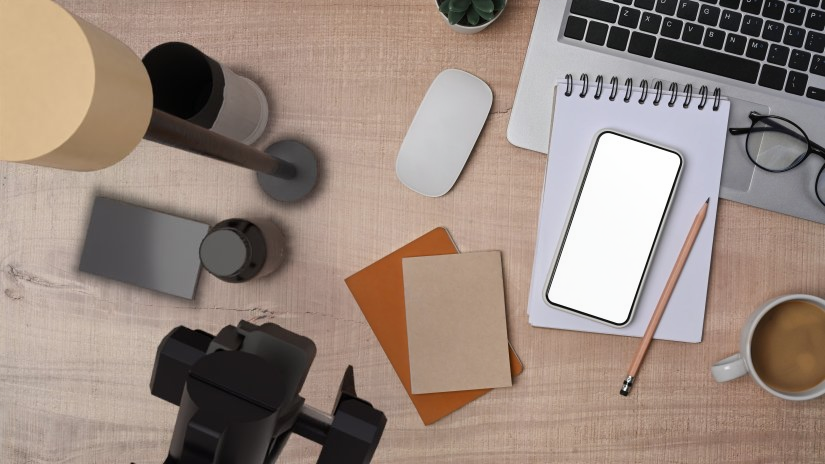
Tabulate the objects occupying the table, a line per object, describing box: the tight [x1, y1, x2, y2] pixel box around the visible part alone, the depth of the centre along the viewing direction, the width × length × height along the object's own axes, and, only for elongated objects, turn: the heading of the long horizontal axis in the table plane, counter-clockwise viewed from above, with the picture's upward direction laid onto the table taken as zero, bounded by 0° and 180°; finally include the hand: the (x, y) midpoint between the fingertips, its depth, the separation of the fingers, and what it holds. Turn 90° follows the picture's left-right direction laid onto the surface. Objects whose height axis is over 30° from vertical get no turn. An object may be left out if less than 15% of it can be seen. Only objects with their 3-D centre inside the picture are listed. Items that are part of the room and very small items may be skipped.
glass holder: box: [140, 41, 270, 146], centre depth 63 cm, size 9×14×15 cm, turn 84°
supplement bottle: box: [199, 217, 287, 285], centre depth 65 cm, size 7×7×12 cm
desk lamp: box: [0, 0, 321, 203], centre depth 48 cm, size 7×7×46 cm
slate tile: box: [77, 195, 212, 301], centre depth 71 cm, size 9×14×1 cm, turn 76°
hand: (304, 349), depth 56 cm, fingers open, 9 cm apart
